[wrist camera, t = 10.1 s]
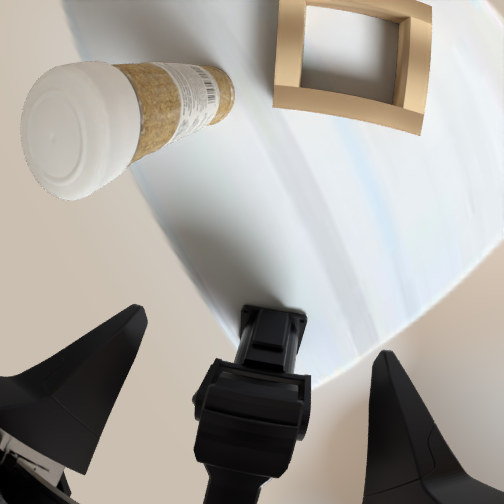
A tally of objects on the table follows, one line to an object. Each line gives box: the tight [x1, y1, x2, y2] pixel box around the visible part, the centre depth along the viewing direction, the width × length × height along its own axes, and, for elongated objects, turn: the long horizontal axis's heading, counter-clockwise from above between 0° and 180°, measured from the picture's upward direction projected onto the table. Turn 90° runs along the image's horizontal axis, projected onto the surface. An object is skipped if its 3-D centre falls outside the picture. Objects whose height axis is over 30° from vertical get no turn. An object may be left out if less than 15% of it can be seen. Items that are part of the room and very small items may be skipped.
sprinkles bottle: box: [21, 61, 235, 200], centre depth 11 cm, size 5×5×13 cm
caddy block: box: [273, 0, 432, 136], centre depth 12 cm, size 9×9×2 cm
